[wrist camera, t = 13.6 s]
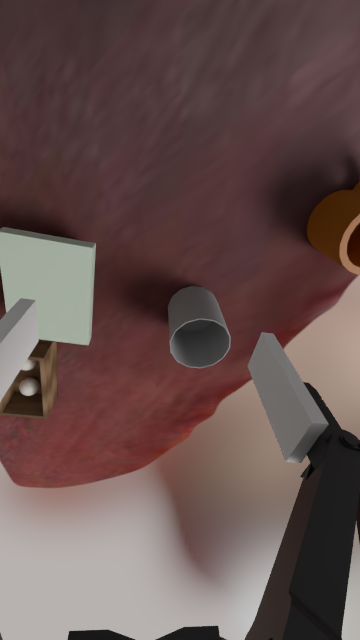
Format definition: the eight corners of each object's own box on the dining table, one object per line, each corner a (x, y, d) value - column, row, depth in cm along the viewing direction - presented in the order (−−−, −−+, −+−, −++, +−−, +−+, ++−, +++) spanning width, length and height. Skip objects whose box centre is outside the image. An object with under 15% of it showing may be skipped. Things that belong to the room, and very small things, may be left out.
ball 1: (19, 346, 47) (11, 358, 44) (39, 348, 48) (32, 360, 45) (21, 360, 49) (13, 373, 46) (40, 363, 49) (33, 375, 46)
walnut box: (5, 329, 46) (-14, 351, 41) (56, 335, 48) (43, 358, 42) (14, 389, 53) (-2, 415, 48) (57, 393, 55) (47, 419, 49)
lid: (3, 227, 34) (-5, 231, 32) (95, 243, 36) (92, 248, 34) (15, 328, 42) (9, 335, 40) (91, 337, 43) (88, 345, 42)
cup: (164, 326, 48) (165, 364, 39) (171, 283, 44) (174, 315, 35) (211, 332, 49) (222, 370, 41) (223, 290, 45) (238, 323, 37)
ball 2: (22, 372, 50) (14, 385, 47) (41, 374, 51) (34, 387, 48) (24, 385, 52) (16, 398, 49) (42, 387, 52) (36, 400, 49)
